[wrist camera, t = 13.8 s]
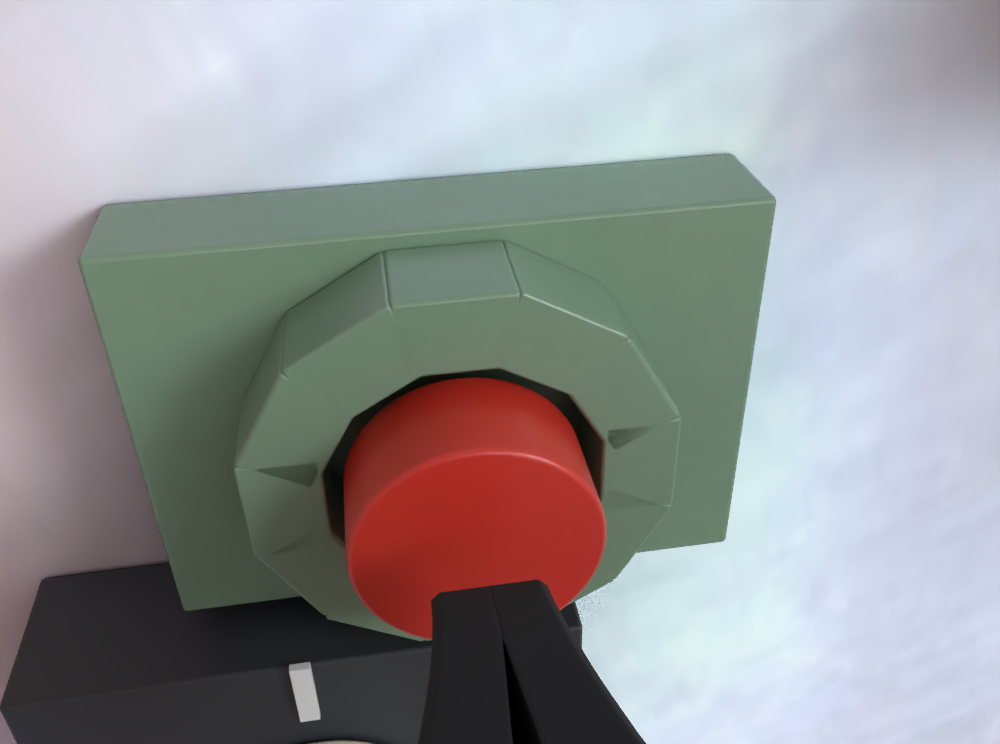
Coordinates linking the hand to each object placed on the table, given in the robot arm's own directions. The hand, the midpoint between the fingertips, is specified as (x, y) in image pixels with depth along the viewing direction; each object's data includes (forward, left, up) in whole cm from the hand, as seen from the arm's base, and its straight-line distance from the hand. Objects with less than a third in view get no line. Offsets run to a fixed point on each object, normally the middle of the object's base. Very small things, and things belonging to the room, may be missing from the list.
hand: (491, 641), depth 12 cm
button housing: (0, 0, -6) cm, 6 cm away
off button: (0, 0, -3) cm, 3 cm away
